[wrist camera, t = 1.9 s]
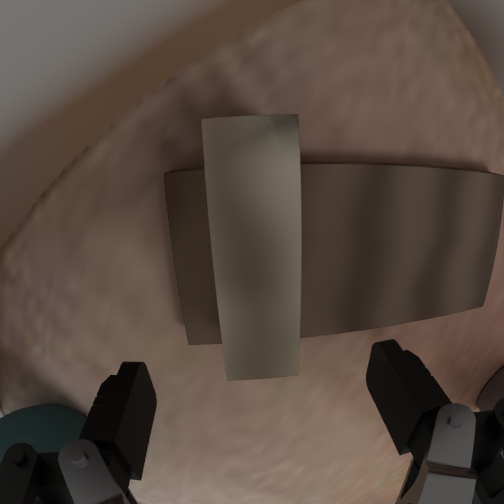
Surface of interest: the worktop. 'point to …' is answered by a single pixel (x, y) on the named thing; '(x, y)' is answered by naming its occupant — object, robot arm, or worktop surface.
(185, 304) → the walnut plank
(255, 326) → the beige wooden block
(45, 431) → the plant pot
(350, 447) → the worktop surface
